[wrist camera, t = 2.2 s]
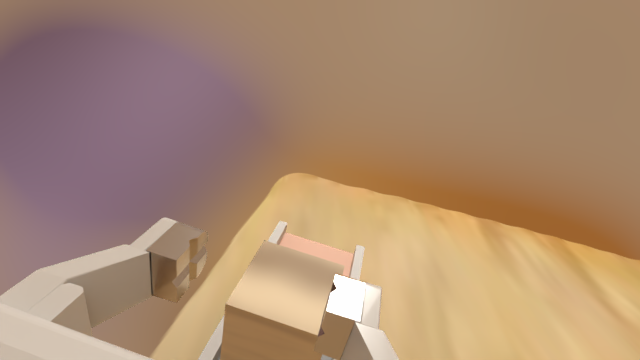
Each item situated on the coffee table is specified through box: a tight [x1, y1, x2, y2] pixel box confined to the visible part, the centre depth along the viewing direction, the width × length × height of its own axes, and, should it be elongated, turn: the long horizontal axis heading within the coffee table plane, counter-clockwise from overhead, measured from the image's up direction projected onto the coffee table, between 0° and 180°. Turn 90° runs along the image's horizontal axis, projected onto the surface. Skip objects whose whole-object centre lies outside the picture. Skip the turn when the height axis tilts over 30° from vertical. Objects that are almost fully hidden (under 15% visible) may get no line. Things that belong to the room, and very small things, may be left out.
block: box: [220, 240, 344, 360], centre depth 24 cm, size 6×6×11 cm
